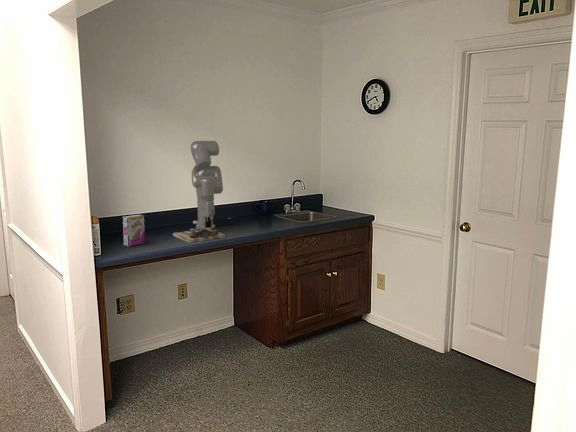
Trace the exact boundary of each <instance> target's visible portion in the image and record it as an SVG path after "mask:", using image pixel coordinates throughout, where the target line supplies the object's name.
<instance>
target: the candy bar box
mask: <svg viewBox="0 0 576 432" xmlns="http://www.w3.org/2000/svg"><path fill="white" fill-rule="evenodd" d="M145 223H146V222H145V215H144V214H133V215H128V216H122V227H123V229H122V232H123V233H122V235H123V246H125V247H132V246H133V247H134V246H138V245H142V244H146V231H145V229H146V228H145V227H146V226H145V225H146V224H145Z"/></svg>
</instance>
